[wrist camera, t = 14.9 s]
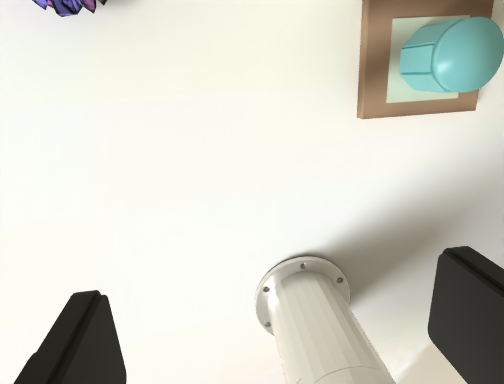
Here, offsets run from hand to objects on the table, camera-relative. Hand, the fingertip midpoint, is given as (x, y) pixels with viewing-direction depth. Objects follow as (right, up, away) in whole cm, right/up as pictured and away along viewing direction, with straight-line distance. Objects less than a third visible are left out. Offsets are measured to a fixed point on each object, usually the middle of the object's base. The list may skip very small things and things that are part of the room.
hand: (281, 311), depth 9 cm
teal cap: (+17, +17, +25) cm, 35 cm away
